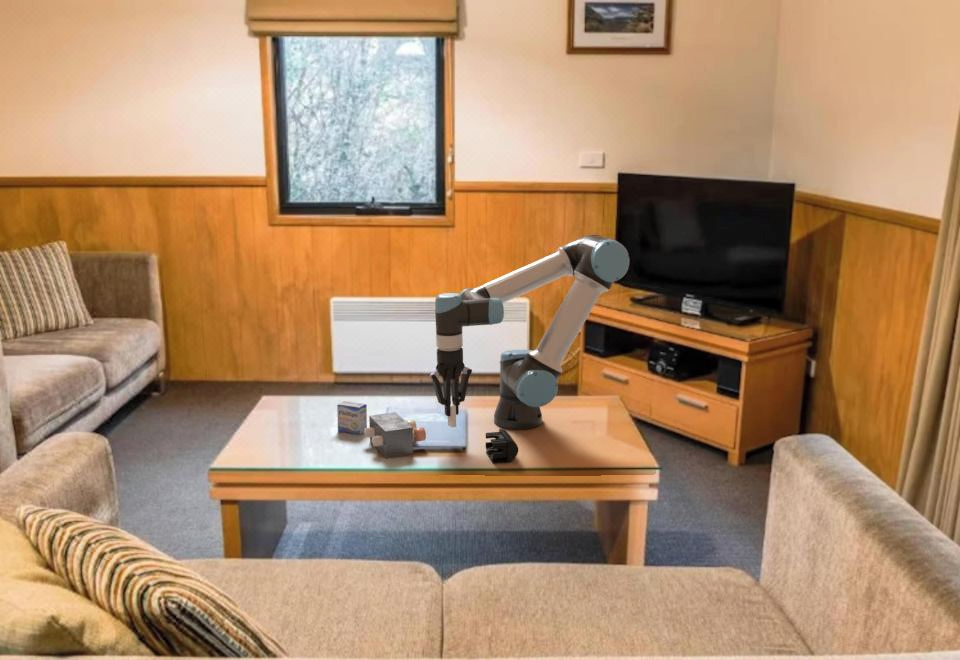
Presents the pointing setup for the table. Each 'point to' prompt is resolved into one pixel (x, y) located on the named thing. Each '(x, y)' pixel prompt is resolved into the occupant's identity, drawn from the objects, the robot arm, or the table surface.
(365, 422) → the medicine box
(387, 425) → the grey peg holder block
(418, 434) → the knob
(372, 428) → the knob
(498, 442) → the end cap
